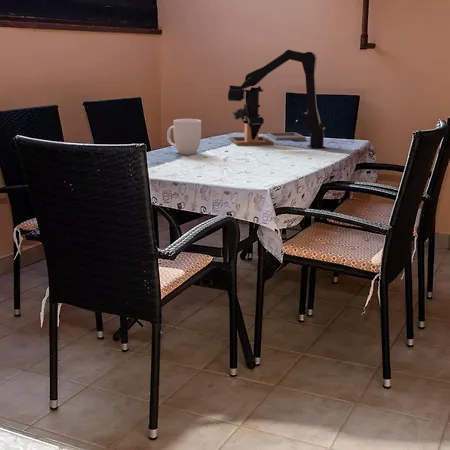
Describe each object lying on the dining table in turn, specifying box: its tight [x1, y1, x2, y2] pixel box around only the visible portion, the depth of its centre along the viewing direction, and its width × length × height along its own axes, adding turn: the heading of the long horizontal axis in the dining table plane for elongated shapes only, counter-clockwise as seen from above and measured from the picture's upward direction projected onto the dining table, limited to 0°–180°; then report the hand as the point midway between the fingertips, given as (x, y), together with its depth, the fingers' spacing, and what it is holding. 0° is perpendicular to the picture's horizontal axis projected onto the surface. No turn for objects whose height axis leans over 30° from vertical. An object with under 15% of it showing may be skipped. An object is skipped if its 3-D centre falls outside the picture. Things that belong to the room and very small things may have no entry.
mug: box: [166, 118, 202, 155], centre depth 260 cm, size 15×11×13 cm
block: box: [243, 124, 259, 142], centre depth 285 cm, size 5×5×8 cm
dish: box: [229, 136, 275, 147], centre depth 286 cm, size 16×16×2 cm
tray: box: [266, 131, 307, 142], centre depth 303 cm, size 16×14×2 cm
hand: (251, 138), depth 285 cm, fingers open, 7 cm apart
